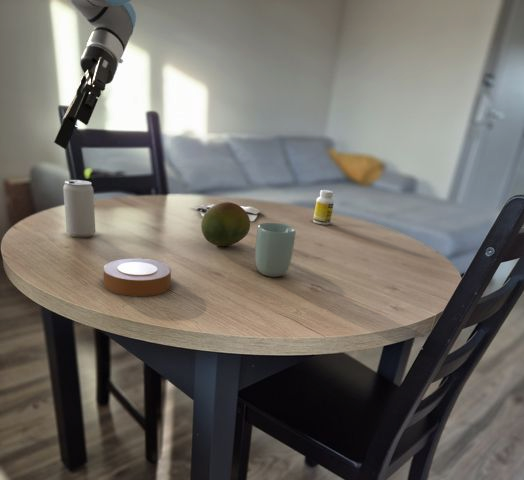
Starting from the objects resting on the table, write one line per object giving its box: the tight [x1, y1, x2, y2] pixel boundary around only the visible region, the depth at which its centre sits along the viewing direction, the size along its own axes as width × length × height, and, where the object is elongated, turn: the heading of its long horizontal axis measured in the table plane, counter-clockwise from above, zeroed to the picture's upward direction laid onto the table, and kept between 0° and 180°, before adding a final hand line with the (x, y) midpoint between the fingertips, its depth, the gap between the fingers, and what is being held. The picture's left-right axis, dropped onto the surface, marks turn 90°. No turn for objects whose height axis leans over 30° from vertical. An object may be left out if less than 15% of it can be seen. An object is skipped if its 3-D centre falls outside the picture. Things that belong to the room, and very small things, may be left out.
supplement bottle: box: [312, 189, 335, 226], centre depth 150 cm, size 5×5×10 cm
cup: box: [254, 222, 296, 278], centre depth 101 cm, size 8×8×10 cm
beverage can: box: [62, 179, 96, 238], centre depth 111 cm, size 6×6×12 cm
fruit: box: [200, 201, 251, 247], centre depth 116 cm, size 12×12×10 cm
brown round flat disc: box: [102, 258, 172, 297], centre depth 89 cm, size 12×12×3 cm
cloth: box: [193, 203, 261, 222], centre depth 149 cm, size 20×22×2 cm
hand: (70, 133), depth 105 cm, fingers open, 13 cm apart
